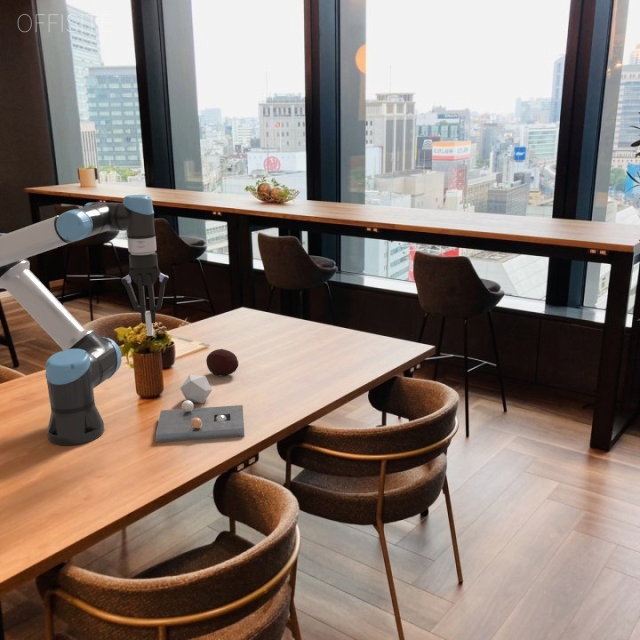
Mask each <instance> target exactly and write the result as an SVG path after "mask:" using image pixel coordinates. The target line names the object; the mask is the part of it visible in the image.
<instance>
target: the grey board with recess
mask: <svg viewBox="0 0 640 640" xmlns="http://www.w3.org/2000/svg"><path fill="white" fill-rule="evenodd" d="M243 406H244V405H243V404H239V405H237V404H236V405H226V406H225V405H224V406H208V407H195V408H194V407H193V409H192V410H191V411H190V412H185V411H184V410H183V409H182V408H181V409H180V408H177V409H165V410H163V409H162V410H160V414H159V417H158V422H157V427H156V431H155V438H156V439H155V440H156V443H172V442H182V441H184V442H185V441H186V442H187V441H198V440H210V439H211V440H213V439H225V438H226V439H227V438H239V437H241V438H242V437H245V424H244V423H245V422H244V409H243V408H244V407H243ZM218 415H224V416H225V417H226V418H227V421H215V419H216V417H217V416H218ZM194 418H199V419H201V421H202V425H201V427H200V428H197V429H195V428H193V427H192V426H191V421H192V420H193V419H194Z"/></svg>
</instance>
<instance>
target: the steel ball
mask: <svg viewBox="0 0 640 640" xmlns="http://www.w3.org/2000/svg"><path fill="white" fill-rule="evenodd" d="M215 421H227V418H226V417H225V416H224V415H218V416H217V417H216V419H215Z"/></svg>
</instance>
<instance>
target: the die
mask: <svg viewBox="0 0 640 640" xmlns="http://www.w3.org/2000/svg"><path fill="white" fill-rule="evenodd" d="M179 389H180V391H181V393H182V395H183V397H184V398H185V401H186V400H189V401H191V402H192V403H193V404H204V403H205V401H206V400H207V398H208V397H209V396H210V395H211V393H212V392H213V389H212V386H211V385H210V383H209V381H208V379H207V377H206V375H196V374H189V375H188V377H187V378H186V379H185V381H184V382H183V383H182V384H181V386H180V388H179Z"/></svg>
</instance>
